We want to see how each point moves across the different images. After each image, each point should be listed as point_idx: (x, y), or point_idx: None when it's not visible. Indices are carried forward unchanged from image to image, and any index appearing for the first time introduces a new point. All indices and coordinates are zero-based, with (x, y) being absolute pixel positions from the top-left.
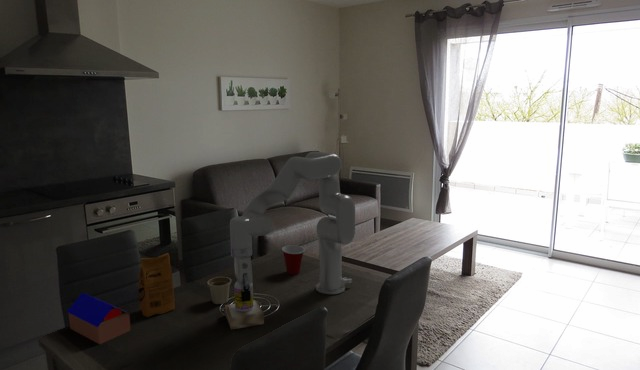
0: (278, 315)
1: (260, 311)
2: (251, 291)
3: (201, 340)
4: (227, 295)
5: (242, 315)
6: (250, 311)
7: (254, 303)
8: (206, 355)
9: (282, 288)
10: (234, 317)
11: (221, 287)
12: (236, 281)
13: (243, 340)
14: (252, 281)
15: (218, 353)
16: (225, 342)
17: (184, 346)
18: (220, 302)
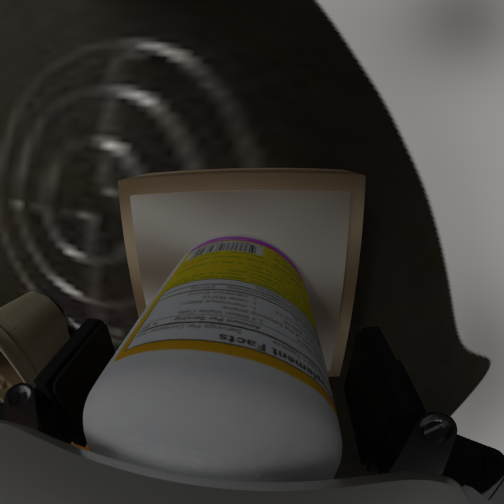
0: (268, 61)
1: (339, 194)
2: (303, 342)
3: (350, 420)
4: (35, 313)
5: (338, 320)
6: (306, 264)
7: (178, 207)
8: (437, 402)
9: (3, 45)
10: (331, 358)
11: (31, 378)
12: (84, 446)
13: (439, 301)
14: (459, 491)
15: (451, 376)
16: (411, 361)
17: (355, 446)
18: (66, 332)
